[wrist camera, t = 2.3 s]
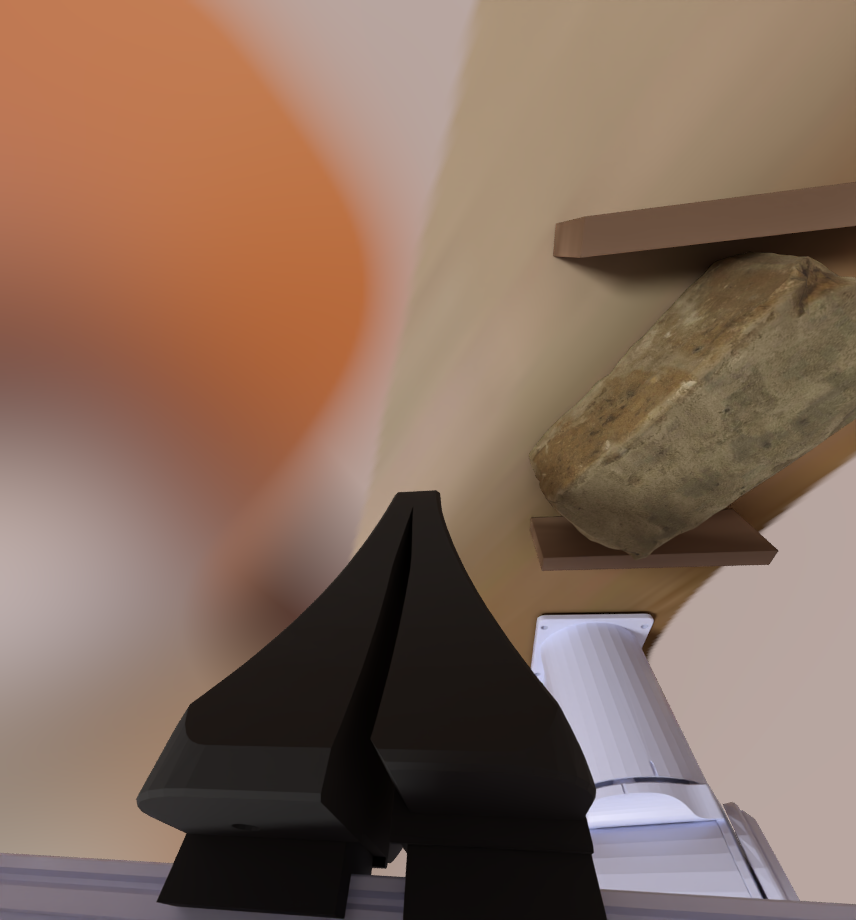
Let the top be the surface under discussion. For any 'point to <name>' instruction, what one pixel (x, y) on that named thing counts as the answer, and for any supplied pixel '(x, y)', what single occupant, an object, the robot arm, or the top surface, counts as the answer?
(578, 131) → the top surface
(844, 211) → the chute
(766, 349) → the stone block
